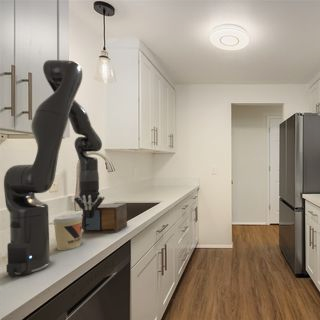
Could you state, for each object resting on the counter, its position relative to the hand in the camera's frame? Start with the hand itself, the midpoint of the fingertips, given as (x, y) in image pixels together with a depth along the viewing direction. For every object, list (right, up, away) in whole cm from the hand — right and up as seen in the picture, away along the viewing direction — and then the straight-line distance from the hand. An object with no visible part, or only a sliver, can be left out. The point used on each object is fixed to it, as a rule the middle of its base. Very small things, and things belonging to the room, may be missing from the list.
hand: (90, 217), depth 108 cm
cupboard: (+2, -8, +9) cm, 12 cm away
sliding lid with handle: (-1, -7, +2) cm, 7 cm away
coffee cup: (0, -8, -13) cm, 16 cm away
